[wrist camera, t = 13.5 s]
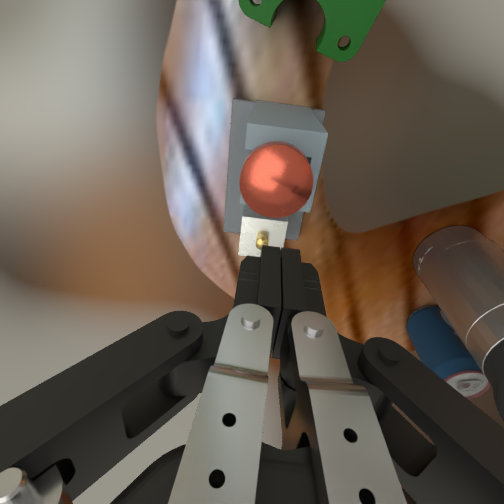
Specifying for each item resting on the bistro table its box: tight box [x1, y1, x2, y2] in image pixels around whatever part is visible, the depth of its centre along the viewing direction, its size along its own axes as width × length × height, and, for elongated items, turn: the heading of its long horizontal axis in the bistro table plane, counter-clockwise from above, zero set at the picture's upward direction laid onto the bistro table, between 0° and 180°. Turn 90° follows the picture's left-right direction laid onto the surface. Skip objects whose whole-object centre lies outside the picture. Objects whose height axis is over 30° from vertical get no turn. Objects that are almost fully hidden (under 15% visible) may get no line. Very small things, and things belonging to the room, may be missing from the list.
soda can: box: [406, 306, 491, 399], centre depth 44 cm, size 7×7×12 cm
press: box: [224, 98, 328, 240], centre depth 32 cm, size 10×16×14 cm, turn 174°
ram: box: [239, 141, 313, 218], centre depth 27 cm, size 5×5×14 cm
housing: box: [239, 204, 288, 257], centre depth 37 cm, size 5×5×7 cm
